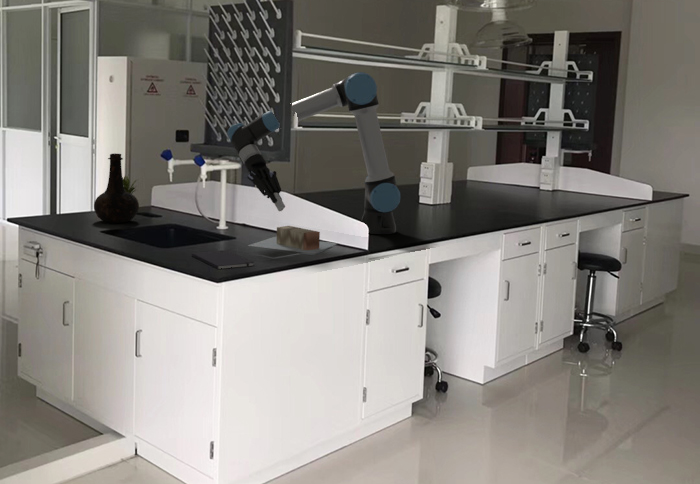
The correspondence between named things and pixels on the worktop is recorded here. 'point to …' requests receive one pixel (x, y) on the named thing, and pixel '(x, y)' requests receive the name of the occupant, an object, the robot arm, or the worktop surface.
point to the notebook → (222, 259)
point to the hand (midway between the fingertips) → (282, 208)
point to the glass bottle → (116, 197)
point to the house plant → (126, 185)
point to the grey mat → (273, 245)
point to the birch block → (298, 237)
